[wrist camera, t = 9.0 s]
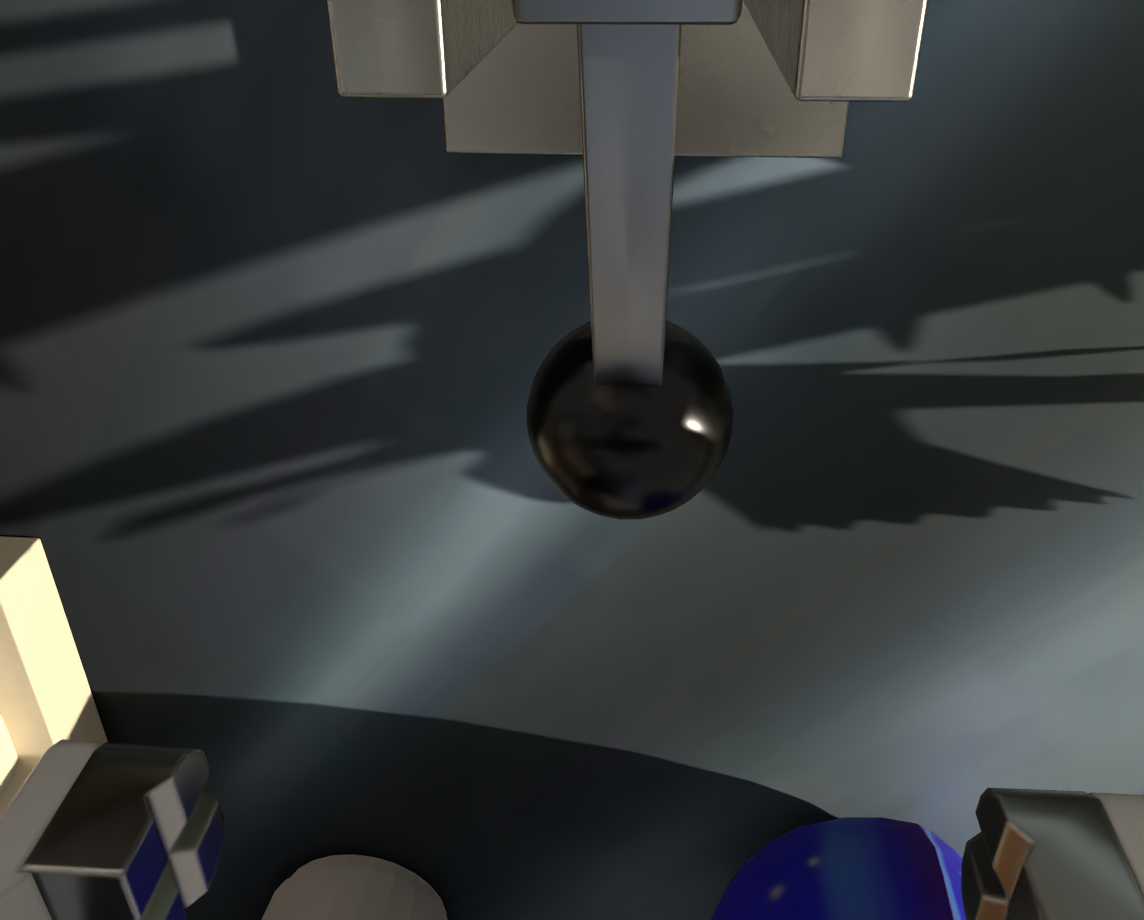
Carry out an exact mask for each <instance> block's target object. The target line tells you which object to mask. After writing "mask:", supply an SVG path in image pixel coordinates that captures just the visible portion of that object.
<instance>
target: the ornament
mask: <svg viewBox="0 0 1144 920" xmlns="http://www.w3.org/2000/svg"><path fill="white" fill-rule="evenodd" d="M962 860H963V859H962V858H961V857H960V856H959V855H958V854H957V853H956V852H955V851H954V850H953V849H952V848H951V847H950V846H949V845H947V844H946V843H945V842H944V841H942V840H941V839H940V838H939V837H938V836H936V835H935V834H934V833H933V832H931V831H929V830H927V829H925V828H924V827H922V826H920V825H918V824H915V823H909V822H904V821H898V820H893V819H887V818H840V819H835V820H830V821H825V822H821V823H816V824H811V825H806V826H802V827H798V828H796V829H794V830H792V831H790V832H787V833H785V834H783V835H781V836H779V837H777V838H774V839H772V840H771V841H769V842H768V843H767V844H766V845H765V846H764V847H763V848H761V849H760V850H759V851H758V852H757V853H756V854H755V855H753V856H752V857H751V858H750V859H749V860H748V861H747V862H745V863H744V865H743V866H742V867H741V868H740V870H739V871H738V872H737V873H736V875H735V876H734V877H733V878H732V880H731V881H730V883H729V885H728V887H727V889H726V891H725V893H724V895H723V896H722V898H721V900H720V902H719V904H718V906H717V908H716V910H715V912H714V914H713V916H712V917H711V919H710V920H966V917H965V913H964V907H963V900H962V894H961V864H962Z"/></svg>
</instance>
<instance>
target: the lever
mask: <svg viewBox="0 0 1144 920" xmlns="http://www.w3.org/2000/svg"><path fill="white" fill-rule="evenodd" d="M511 1H512V10H513V15H514V17H515V19H516V21H517V22H518V23H521V24H576V25H577V45H578V66H579V86H580V107H581V128H582V148H583V169H584V189H585V210H586V230H587V251H588V271H589V292H590V312H591V321H590V322H587V323H586V324H584V325H582V326H580V327H578V328H576V329H575V330H573V331H572V332H570V333H569V334H567V335H566V336H565V337H564V338H563V339H562V340H560V341H559V342H558V343H557V344H556V345H555V346H554V347H553V349H552V350H551V351H550V352H549V353H548V355H547V356H546V357H545V359H544V360H543V362H542V364H541V365H540V367H539V369H538V371H537V373H536V375H535V378H534V380H533V383H532V386H531V389H530V394H529V399H528V405H527V428H528V436H529V439H530V443H531V447H532V450H533V453H534V456H535V458H536V460H537V462H538V464H539V466H540V468H541V470H542V471H543V473H544V474H545V476H546V477H547V478H548V480H549V481H550V482H551V484H552V485H553V486H554V487H555V488H556V489H557V490H558V491H559V492H560V493H561V494H562V495H564V496H565V497H566V498H568V499H569V500H571V501H572V502H573V503H575V504H576V505H578V506H580V507H582V508H584V509H586V510H588V511H591V512H593V513H595V514H598V515H601V516H605V517H610V518H616V519H643V518H649V517H654V516H657V515H661V514H664V513H666V512H669V511H672V510H674V509H676V508H678V507H679V506H681V505H683V504H684V503H686V502H688V501H689V500H691V499H692V498H693V497H694V496H695V495H696V494H698V493H699V492H700V491H701V490H702V489H703V488H704V487H705V486H706V485H707V484H708V482H709V481H710V480H711V479H712V478H713V476H714V475H715V473H716V472H717V470H718V468H719V467H720V465H721V463H722V461H723V459H724V457H725V454H726V452H727V449H728V446H729V442H730V438H731V433H732V422H733V408H732V399H731V394H730V390H729V387H728V383H727V381H726V378H725V376H724V374H723V371H722V369H721V367H720V365H719V364H718V362H717V361H716V359H715V358H714V356H713V355H712V353H711V352H710V351H709V350H708V349H707V348H706V346H705V345H704V344H703V343H702V342H701V341H700V340H699V339H698V338H696V337H695V336H694V335H693V334H691V333H690V332H688V331H687V330H685V329H684V328H682V327H680V326H679V325H677V324H675V323H673V322H670V321H668V320H666V315H667V295H668V276H669V257H670V238H671V218H672V199H673V180H674V161H675V141H676V122H677V103H678V84H679V64H680V45H681V26H682V25H731V24H734V23H737V21H738V19H739V17H740V15H741V12H742V2H743V0H511Z"/></svg>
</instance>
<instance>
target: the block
mask: <svg viewBox="0 0 1144 920" xmlns="http://www.w3.org/2000/svg"><path fill="white" fill-rule="evenodd" d="M61 739H66V740H81V741H95V742H108V741H107V738H106V735H105V732H104V729H103V726H102V723H101V720H100V717H99V714H98V711H97V708H96V705H95V702H94V699H93V696H92V693H91V690H90V687H89V684H88V681H87V678H86V675H85V672H84V669H83V666H82V663H81V660H80V657H79V654H78V651H77V648H76V645H75V642H74V639H73V636H72V633H71V630H70V627H69V624H68V621H67V618H66V615H65V612H64V609H63V606H62V603H61V600H60V597H59V594H58V591H57V588H56V585H55V582H54V579H53V576H52V573H51V570H50V567H49V564H48V561H47V558H46V555H45V552H44V549H43V546H42V543H41V540H40V539H39V538H22V537H0V817H1V816H2V815H3V813H4V812H5V810H6V809H7V807H8V806H9V804H10V803H11V801H12V800H13V798H14V797H15V796H16V794H17V793H18V791H19V790H20V788H21V787H22V785H23V784H24V782H25V781H26V779H27V778H28V776H29V775H30V774H31V772H32V771H33V769H34V768H35V766H36V765H37V763H38V762H39V760H40V759H41V757H42V756H43V755H44V753H45V752H46V751H47V749H49V748H50V747H51V746H53V745H54V744H56V743H57V742H59V741H60V740H61Z"/></svg>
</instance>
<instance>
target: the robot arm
mask: <svg viewBox="0 0 1144 920" xmlns="http://www.w3.org/2000/svg"><path fill="white" fill-rule="evenodd" d="M210 773H211V771H210V768H209V765H208V762H207V759H206V756H205V753H204V751H203V750H198V749H192V748H179V747H166V746H153V745H140V744H128V743H115V742H95V741H81V740H66V739H61V740H60V741H59V742H57V743H56V744H54V745H53V746H51V747H50V748H49V749H47V751H46V752H45V753H44V755H43V756H42V757H41V759H40V760H39V762H38V763H37V765H36V766H35V768H34V769H33V771H32V772H31V774H30V775H29V776H28V778H27V779H26V781H25V782H24V784H23V785H22V787H21V788H20V790H19V791H18V793H17V794H16V796H15V797H14V798H13V800H12V801H11V803H10V804H9V806H8V807H7V809H6V810H5V812H4V813H3V815H2V816H1V817H0V920H189V919H188V916H187V913H186V908H187V907H189V906H190V905H191V904H192V903H194V902H195V901H196V900H197V899H199V898H200V897H201V896H202V895H203V894H205V893H206V892H207V891H208V890H209V887H210V885H211V883H212V880H213V878H214V875H215V873H216V870H217V868H218V865H219V860H220V855H221V850H222V845H223V840H224V824H223V814H222V810H221V806H220V803H219V800H217V799H216V798H215V797H214V796H213V795H211V794H210V793H209V792H208V791H207V790H206V789H204V786H205V784H206V782H207V780H208V778H209V775H210ZM975 813H976V816H977V819H978V822H979V825H980V828H981V832H980V833H979V834H977V835H976V836H974V837H973V838H972V839H970V840H969V841H967V843H966V847H965V851H964V855H963V860H962V864H961V894H962V900H963V907H964V913H965V917H966V920H1144V795H1131V794H1111V793H1086V792H1083V791H1057V790H1031V789H1006V788H987V789H986V790H985V792H984V793H983V794H982V795H981V797H980V800H979V803H978V806H977V809H976V812H975Z"/></svg>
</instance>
